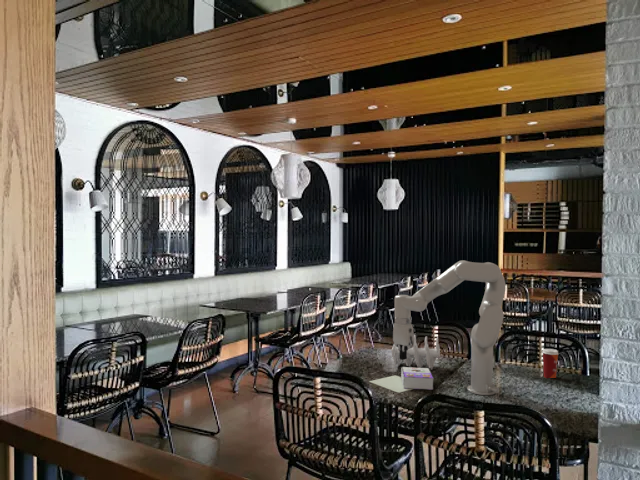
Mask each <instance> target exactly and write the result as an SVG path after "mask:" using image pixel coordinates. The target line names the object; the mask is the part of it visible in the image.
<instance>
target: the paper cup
mask: <svg viewBox="0 0 640 480" xmlns="http://www.w3.org/2000/svg"><path fill="white" fill-rule="evenodd" d="M541 353H542V362H543V363H542V366H543V377H544V378H545V379H548V378H556V379H557V370H558V361H559V360H558V359H559V350H557V349H554V348H543V349H542V351H541Z"/></svg>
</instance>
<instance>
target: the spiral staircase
mask: <svg viewBox="0 0 640 480" xmlns="http://www.w3.org/2000/svg"><path fill="white" fill-rule="evenodd" d="M440 355H441V347H440V344H439V336H437V337H436V339H435V348H429V344H428V336H425V337H424V347H418V343H417V336H416V334H414V344H413V345H412V348H411V349H408V351H407V359H405V360H403V362H404V363H405V367H411V365H412V363H413V358H414V362H415V365H416V366H417V367H416V368H424V367H423V366H424V362H425V361H426V364H427V367H428V368H429V369H430V371H431V370H432V371H433V368H435V362H436V361H437V358H438V357H439V358H440ZM391 357H392V360H393V363H394V365H397V366H400V364H401V363H402V360H401V359H400V351H399V350H398V347H397V346H396V345H394V344H392V348H391Z"/></svg>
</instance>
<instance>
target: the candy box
mask: <svg viewBox="0 0 640 480" xmlns="http://www.w3.org/2000/svg"><path fill="white" fill-rule="evenodd" d="M400 368H401V369H400V375H401V376H400V377H401V379H402V383H403V388H408V389H412V390H430V391H431V390H434V376H433V374H432V372H431V369H430V368H429V367H421V368H420V367H412V366H410V367H409V366H401V367H400Z"/></svg>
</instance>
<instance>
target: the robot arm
mask: <svg viewBox="0 0 640 480" xmlns="http://www.w3.org/2000/svg"><path fill="white" fill-rule="evenodd" d="M464 281H469V282H470V281H471V282H481V283H485V291H484V295H483V298H482V301H481V304H480V307H479V310H478V314H479V316H480V317H479V321H478V323H475V324H474V325H473V327H472V328H471V332H470V339H471V342H470V343H471V357H470V361H471V362H470V363H471V364H470V385H468V386H467V391H468V392H470V393H472V394H475V395H479V396H492V395H496V394H499V392H500V387H498V386H495V385H496V383H495V382H494V381H493V380H494V379H493V376H494V375H493V374H494V373H493V371H494V369H493V368H494V346H495V344H496V343H497V340H498V337H499V334H500V332H501V328H502V325H503V321H504V311H503V309H502V305H503V301H504V299H505V298H504V297H505V294H506V293H505V292H506V280H505V278H504V275H503V273H502V270H501V267H499V266H498V265H497V264H496V263H493V262H489V261H487V262H476V261H475V262H474V261H473V262H472V261H468V260H459V261H457V262H455V263H454V264H453V265H451V266H450V267H449V268H447V269H446V270H445V271H444V272H443V273H441V274H440V275H438V276H437V277H436V278H433V280H431V281H430V282H429V283H428V284H426V285H424V287H422V288H421V289H419V290H418V291H417V292H415V293H413V295H412V296H410V295H408V294H397V295H395V296H394V322H393V329H392V330H393V331H392V341H393V345H395V346H396V347H398V350H399V351H400V359H401V361H404V360H405V359H407V351H408V349H411V348H413V344H414V335H415V333H414V326H413V324H412V319H411V317H412V316H411V313H412V312H411V311H413V312H423V311H424V310H426V308H427V306H428V304H429V303H430V302H431V301H433V300H434V299H436V298H437V297H440V296H441V295H445V294H447V293H449V292H450V291H451V290H453V289H454V288H455V287H457V286H458V285H461V283H462V282H464Z"/></svg>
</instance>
